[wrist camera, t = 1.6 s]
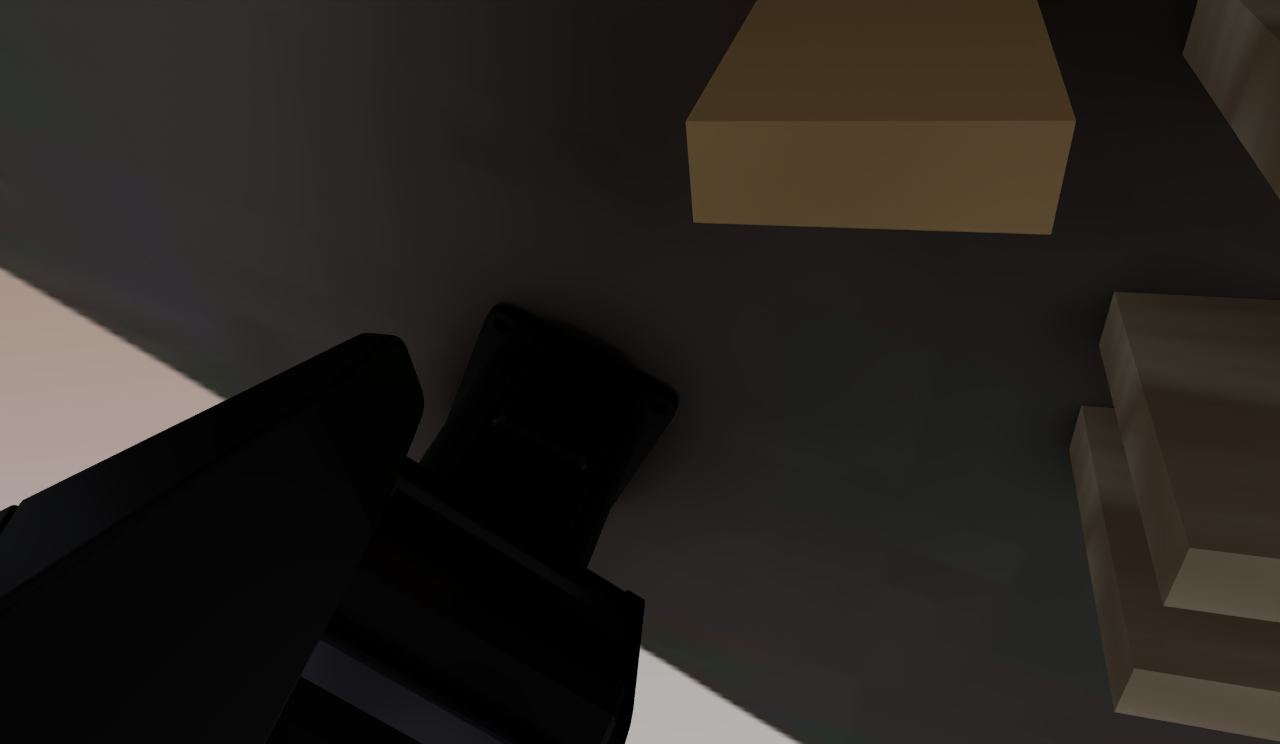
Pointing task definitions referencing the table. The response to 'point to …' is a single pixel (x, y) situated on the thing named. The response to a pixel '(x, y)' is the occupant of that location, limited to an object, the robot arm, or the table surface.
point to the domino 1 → (884, 118)
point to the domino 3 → (1202, 443)
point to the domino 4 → (1163, 611)
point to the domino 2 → (1242, 72)
